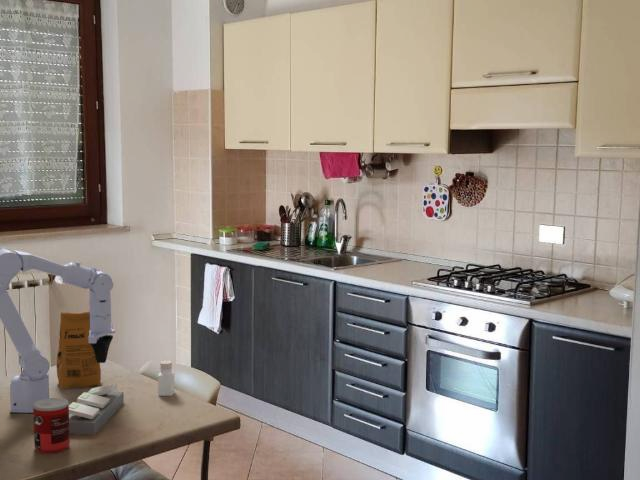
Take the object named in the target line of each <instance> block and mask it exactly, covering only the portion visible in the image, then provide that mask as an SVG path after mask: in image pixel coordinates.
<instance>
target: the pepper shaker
mask: <svg viewBox="0 0 640 480" xmlns="http://www.w3.org/2000/svg"><path fill="white" fill-rule="evenodd" d="M172 366H173V363H172V361H171V360H162V361H160V366H159V367H160V368H159V369H160V372H159V373H158V375H157V385H158V388H157V389H158V390H157V391H158V393H157V394H158V396H159V397H172V396H173V394H174V393H175V372H173V371H172V370H173V367H172Z"/></svg>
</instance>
